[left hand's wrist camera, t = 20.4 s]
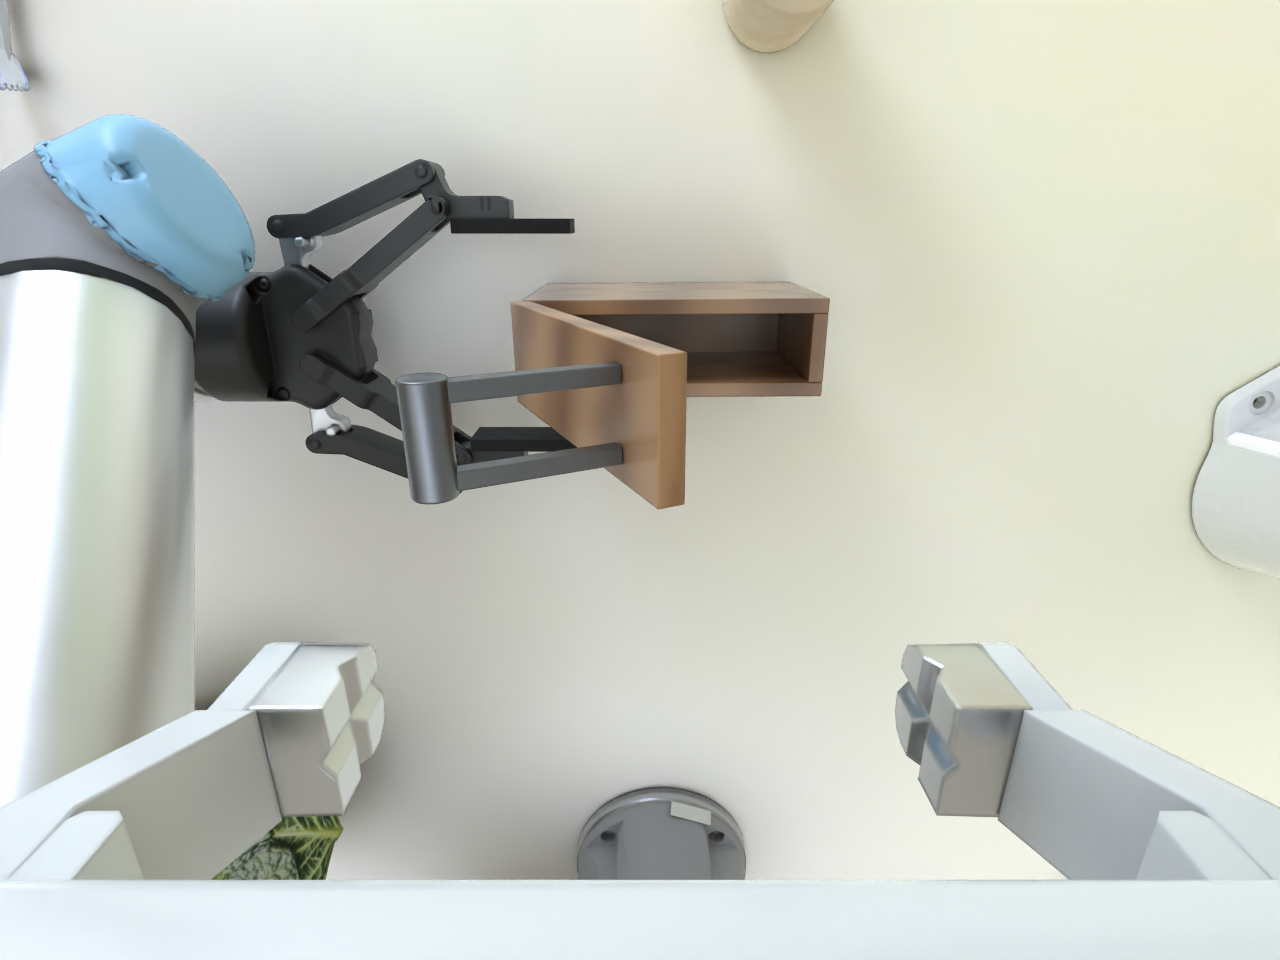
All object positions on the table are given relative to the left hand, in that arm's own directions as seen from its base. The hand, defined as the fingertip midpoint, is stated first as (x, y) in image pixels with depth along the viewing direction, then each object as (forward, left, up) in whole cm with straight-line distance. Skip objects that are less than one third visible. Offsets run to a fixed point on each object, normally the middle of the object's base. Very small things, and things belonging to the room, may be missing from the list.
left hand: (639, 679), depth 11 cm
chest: (-1, +1, -38) cm, 39 cm away
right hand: (+3, -3, -32) cm, 33 cm away
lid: (+1, -2, -20) cm, 21 cm away
